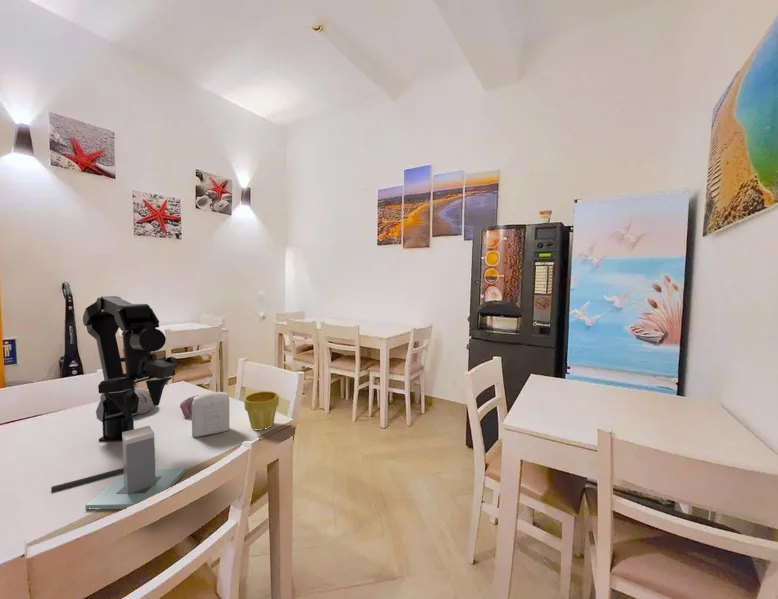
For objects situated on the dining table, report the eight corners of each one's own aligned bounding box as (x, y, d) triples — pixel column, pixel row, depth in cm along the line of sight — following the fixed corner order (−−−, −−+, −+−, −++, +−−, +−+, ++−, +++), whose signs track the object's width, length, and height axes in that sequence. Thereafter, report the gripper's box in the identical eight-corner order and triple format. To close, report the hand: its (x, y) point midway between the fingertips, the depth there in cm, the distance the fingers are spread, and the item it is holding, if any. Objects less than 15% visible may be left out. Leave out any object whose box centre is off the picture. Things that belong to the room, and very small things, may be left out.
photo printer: (228, 425, 109) (228, 388, 108) (230, 431, 105) (230, 392, 105) (191, 433, 103) (190, 393, 102) (192, 439, 100) (191, 398, 99)
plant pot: (237, 429, 106) (236, 399, 106) (260, 417, 116) (260, 389, 115) (263, 435, 103) (263, 404, 102) (285, 422, 112) (285, 393, 112)
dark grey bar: (51, 493, 75) (51, 488, 75) (52, 490, 76) (52, 485, 76) (134, 470, 84) (134, 466, 84) (134, 468, 85) (134, 464, 85)
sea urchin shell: (157, 401, 128) (157, 381, 128) (155, 414, 117) (155, 391, 116) (113, 408, 122) (112, 386, 121) (106, 422, 110) (105, 398, 109)
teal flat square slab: (85, 509, 69) (85, 504, 69) (130, 473, 82) (130, 468, 82) (151, 508, 70) (151, 503, 70) (185, 472, 83) (185, 467, 83)
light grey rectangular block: (124, 484, 76) (122, 432, 75) (150, 475, 80) (149, 425, 79) (127, 494, 73) (125, 440, 72) (155, 484, 76) (154, 432, 75)
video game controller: (210, 412, 123) (205, 393, 125) (216, 409, 121) (211, 390, 122) (181, 421, 115) (176, 401, 116) (186, 418, 113) (182, 398, 114)
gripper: (137, 354, 80) (143, 421, 79) (190, 344, 98) (195, 398, 98) (93, 358, 80) (99, 424, 80) (153, 348, 99) (158, 401, 99)
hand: (143, 411), depth 89 cm, fingers open, 9 cm apart
